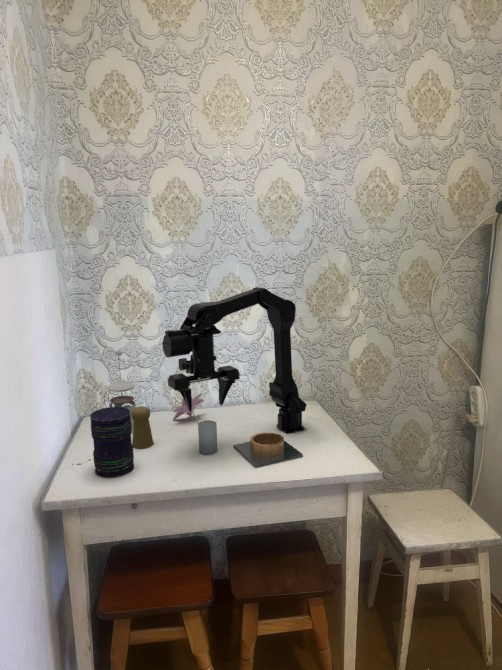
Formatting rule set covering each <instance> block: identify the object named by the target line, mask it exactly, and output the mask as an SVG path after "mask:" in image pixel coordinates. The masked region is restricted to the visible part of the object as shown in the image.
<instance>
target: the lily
mask: <svg viewBox="0 0 502 670" xmlns="http://www.w3.org/2000/svg"><path fill="white" fill-rule="evenodd" d="M202 395H203V392H202V393H199V394H198V395H196V396H194V398H193V397H192V410H191V412H190V411H188V408H187V406H186V403H185V401H184V399H183V398H182V399H181V404H180V406H178V407H176V408H175V409H174V410H172V413H175V415H173V418H172V421H175V420H177V419H178V418H179V417H181V416H182V415H187V416H189V417H191V416H192V415H193V416H194V419H195V421H196V423H197V424H198V423H199V421H198V418H197V417H196V415H195V413H194V410H195V408H196V406H198V405H200V404H201V403H203V402H205V399H202V398H200V397H201V396H202Z"/></svg>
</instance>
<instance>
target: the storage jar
mask: <svg viewBox="0 0 502 670" xmlns="http://www.w3.org/2000/svg"><path fill="white" fill-rule="evenodd" d="M89 417H90V432H91V433H90V434H91V438H92V439H93V440H92V441H93V453H92V456H93V464H94V473H95V475H96V476H97V477H98V478H104V479H114V478H120V477H123V476H126V475H128V474H131V472H133V470H134V469H135V464H134V462H135V461H134V459H135V456H134V455H135V453H134V448H133V446H132V434H133V433H132V428H131V425H132V424H131V417H130V410H129V409H127V408H123V406H122V407H114V406H112V407H109V406H108V407H107V408H106V407H104V408H100V409H97V410H95V411H93V412H91V413H90V415H89ZM131 433H132V434H131Z"/></svg>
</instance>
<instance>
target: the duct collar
mask: <svg viewBox="0 0 502 670" xmlns="http://www.w3.org/2000/svg"><path fill="white" fill-rule="evenodd" d="M284 438H285V437H284V436H283V435H281V434H279V433H275V432H265V431H264V432H259V433H255V434H253V435H251V436H250V438H249V441H245V442H242V443H236V444H235V443H234V444H233V445H232V446H233V447H232V448H233V449H234V450H235V451H236V452H237V453H238V452H239V453H238V454H240V456H242V458H244V459H245V460H246V461H247V462H248V463H249V464H250V465H251V466H252V467H254V469H256V468H261V467H265V466H270V465H273V464H279V463H283V462H286V461H291V460H295V459H299V458H303V457H304V454H303V453H302V452H301V451H299V450H298V449H297V448H295V447H294V446H293V445H291V444H290V443H288V442H287V441H286V440H285V439H284Z"/></svg>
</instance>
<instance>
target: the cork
mask: <svg viewBox="0 0 502 670" xmlns="http://www.w3.org/2000/svg"><path fill="white" fill-rule="evenodd" d="M131 416H132V418H133V420H134V424H133V433H132V438H131V443H132V446H133V449H137V450H145V449H148V448H152V447H153V445H154V444H155V443H154V439H153V433H152V428H151V424H150V416H151V411H150V409H149V407H148V406H143V405H142V406H137V407H136V408H134V409H133V410H132V413H131Z"/></svg>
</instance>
